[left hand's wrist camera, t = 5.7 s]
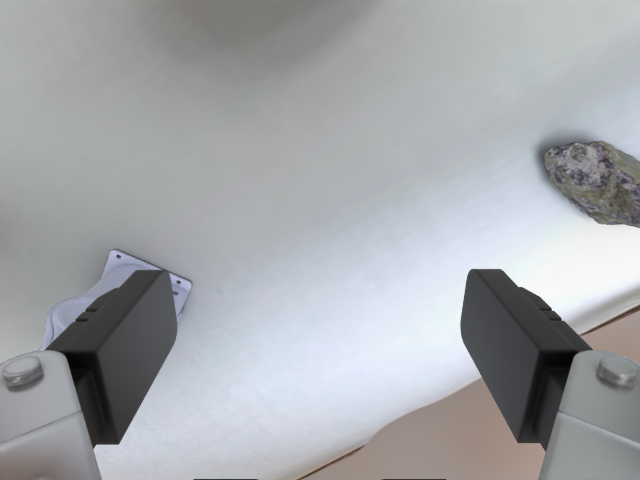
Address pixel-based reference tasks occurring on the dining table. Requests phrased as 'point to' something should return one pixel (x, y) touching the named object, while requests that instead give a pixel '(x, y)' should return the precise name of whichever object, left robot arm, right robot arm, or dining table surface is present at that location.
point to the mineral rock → (598, 181)
